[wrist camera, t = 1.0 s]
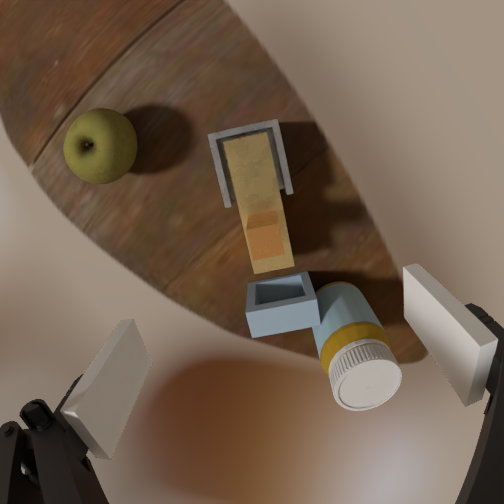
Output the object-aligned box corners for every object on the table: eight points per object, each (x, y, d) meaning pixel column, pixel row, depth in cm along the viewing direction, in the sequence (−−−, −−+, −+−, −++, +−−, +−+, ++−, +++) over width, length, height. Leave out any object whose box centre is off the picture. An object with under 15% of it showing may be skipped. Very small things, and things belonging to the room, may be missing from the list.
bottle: (355, 270, 37) (402, 342, 23) (367, 317, 39) (409, 396, 25) (300, 291, 38) (320, 373, 24) (316, 336, 40) (338, 423, 26)
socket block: (248, 283, 38) (245, 312, 31) (307, 271, 37) (316, 299, 30) (253, 305, 39) (252, 337, 32) (311, 294, 38) (320, 324, 31)
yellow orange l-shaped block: (227, 142, 32) (215, 141, 23) (265, 133, 31) (268, 129, 23) (255, 259, 36) (253, 297, 27) (290, 252, 35) (300, 288, 27)
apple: (124, 98, 31) (95, 90, 24) (161, 152, 33) (137, 155, 26) (78, 139, 32) (43, 141, 26) (111, 192, 34) (81, 204, 28)
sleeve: (215, 135, 32) (207, 134, 28) (275, 122, 32) (277, 119, 27) (230, 198, 34) (225, 207, 30) (288, 186, 34) (293, 193, 29)
